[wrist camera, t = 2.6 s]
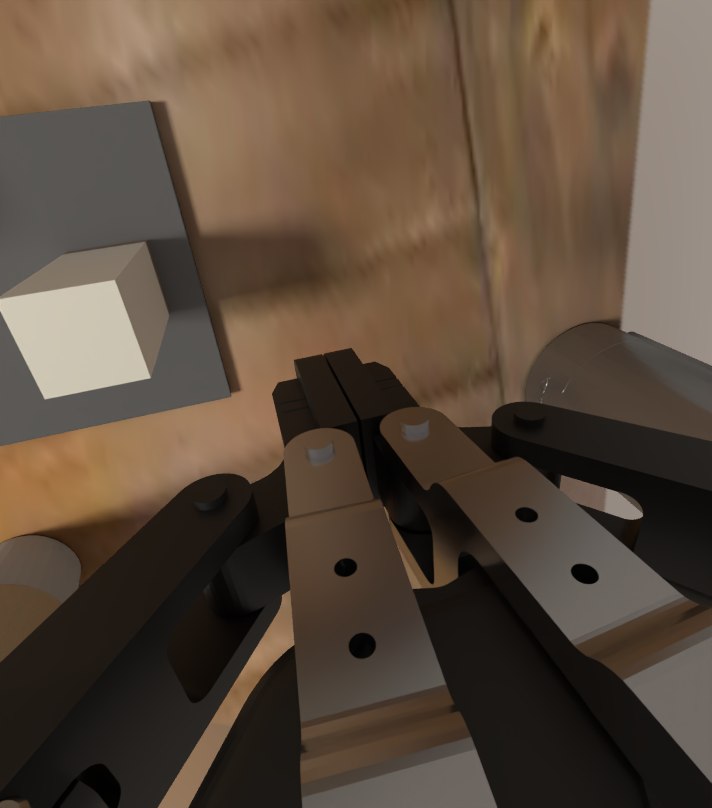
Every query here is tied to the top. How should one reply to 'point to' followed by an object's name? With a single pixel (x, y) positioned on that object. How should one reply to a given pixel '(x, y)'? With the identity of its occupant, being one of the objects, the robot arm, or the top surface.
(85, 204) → the mat
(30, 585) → the coffee cup
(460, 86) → the top surface
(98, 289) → the cream block
